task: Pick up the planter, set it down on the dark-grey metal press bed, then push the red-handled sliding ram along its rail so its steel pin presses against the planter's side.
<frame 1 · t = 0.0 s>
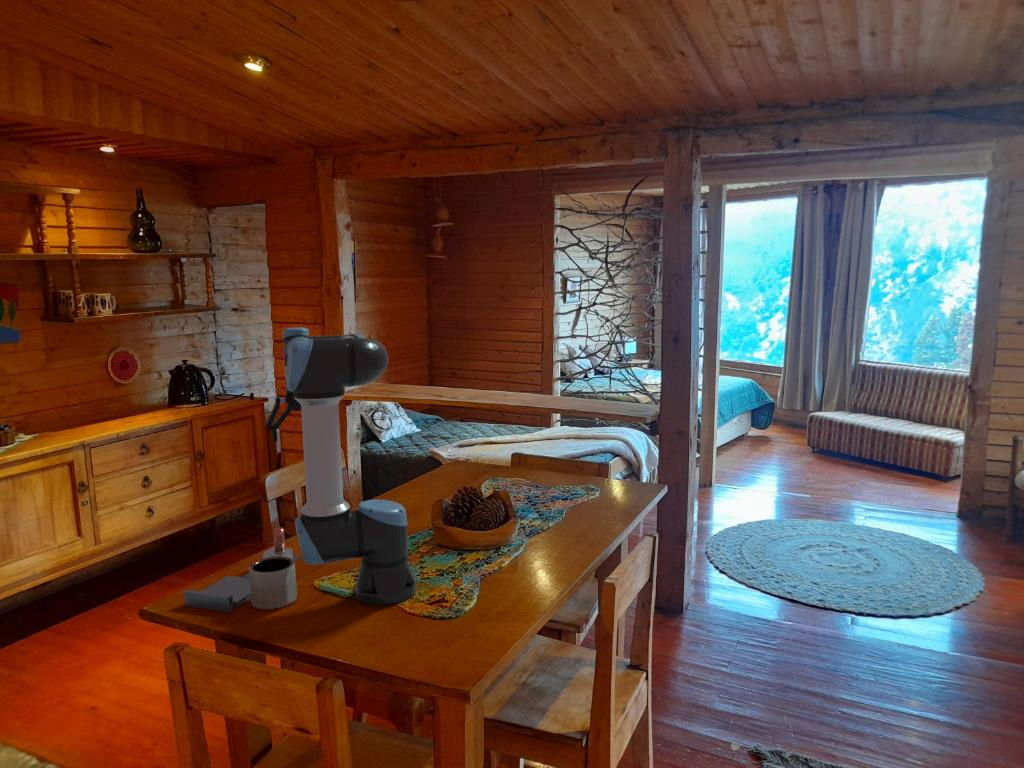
hand: (302, 449, 220), 28 cm above the table, fingers open, 13 cm apart
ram: (273, 548, 201), point 5 cm above the table, slide at 0.0 cm
planter: (274, 602, 180), on the table
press: (232, 592, 185), on the table
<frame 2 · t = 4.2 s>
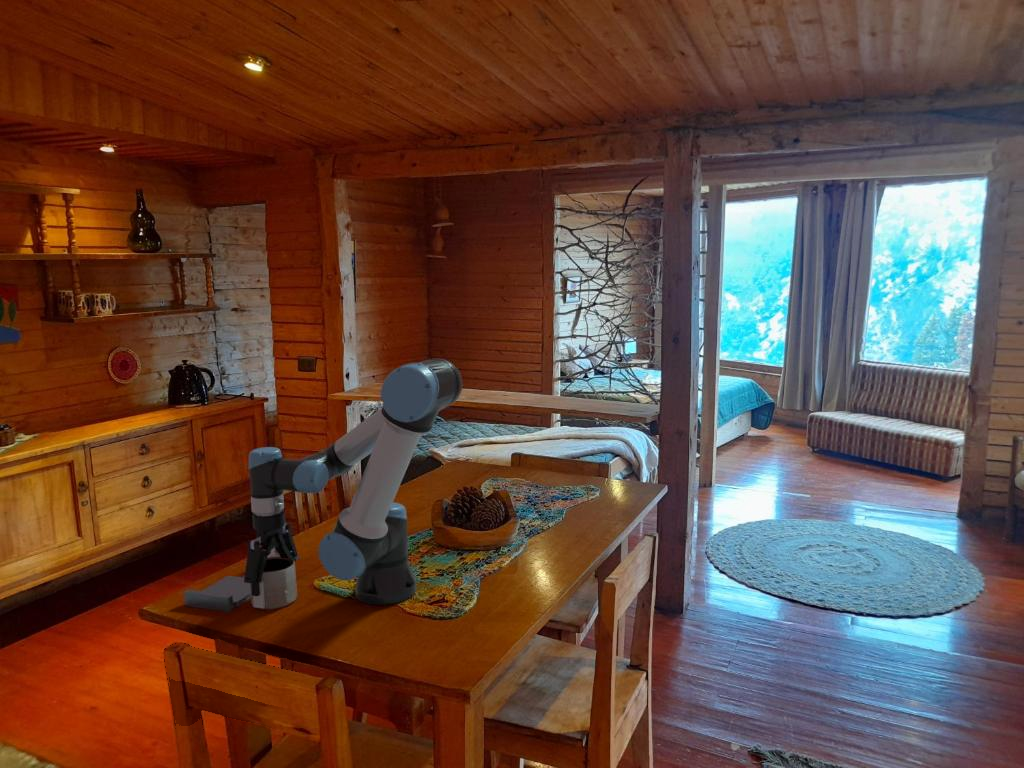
hand: (274, 597, 180), 1 cm above the table, fingers closed on planter, 11 cm apart
planter: (274, 601, 180), on the table, touching gripper
everything else where it was.
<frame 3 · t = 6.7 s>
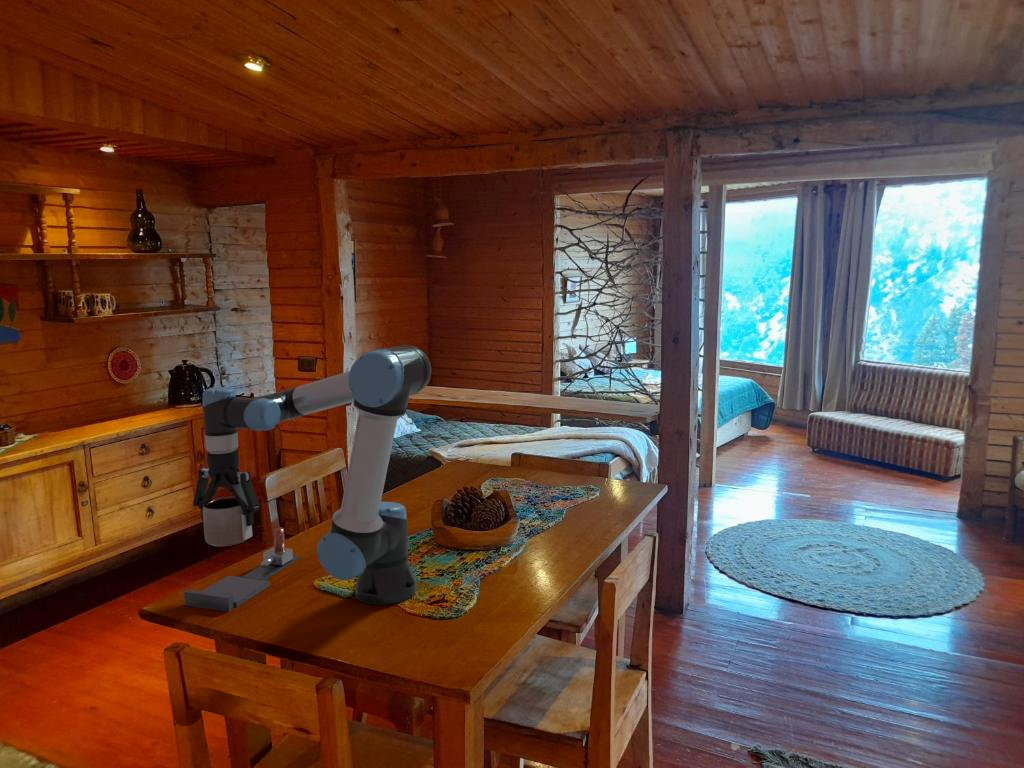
hand: (228, 535, 183), 15 cm above the table, fingers closed on planter, 11 cm apart
planter: (228, 540, 183), point 14 cm above the table, touching gripper
everything else where it was.
when the fingers open (4 cm above the table, at t = 9.4 s): planter drops 1 cm, resting on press.
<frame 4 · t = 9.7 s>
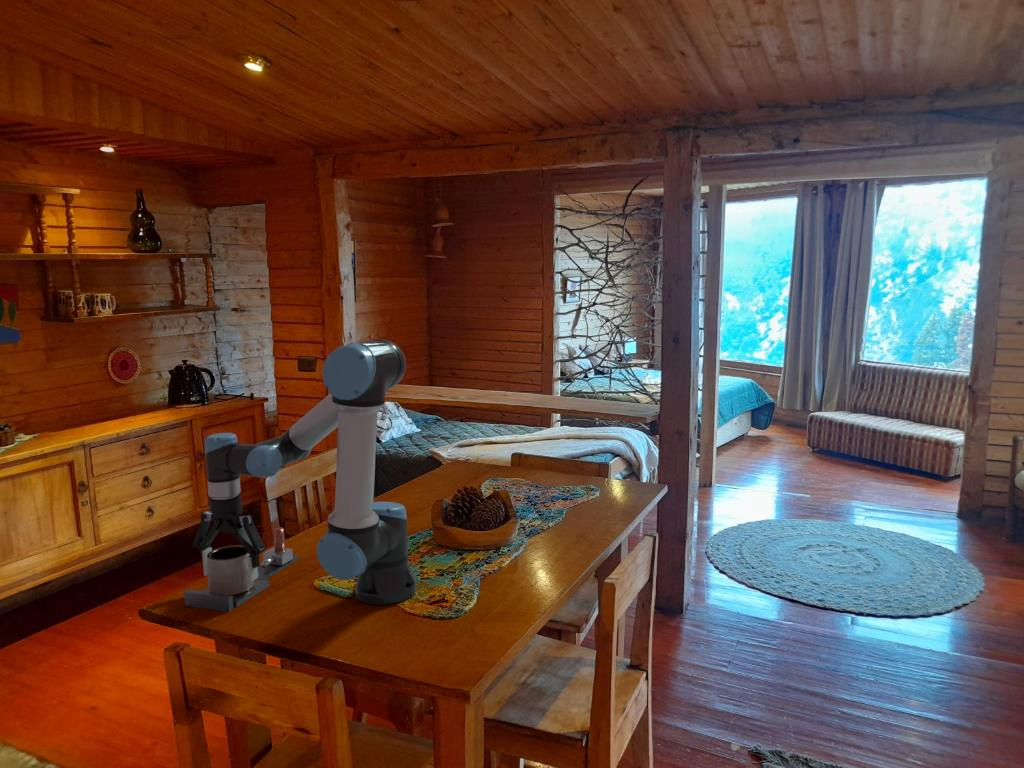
hand: (231, 576, 185), 4 cm above the table, fingers open, 13 cm apart
planter: (232, 589, 185), point 1 cm above the table, touching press
everything else where it was.
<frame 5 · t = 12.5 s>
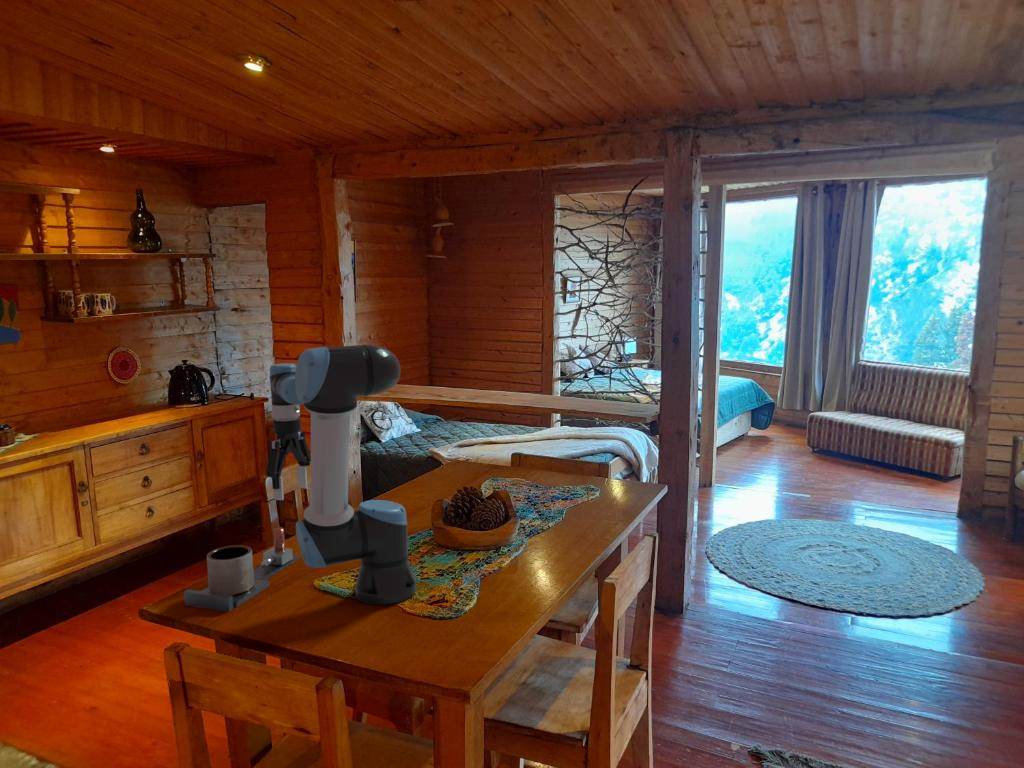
hand: (291, 493, 209), 18 cm above the table, fingers open, 11 cm apart
nothing on the table moved.
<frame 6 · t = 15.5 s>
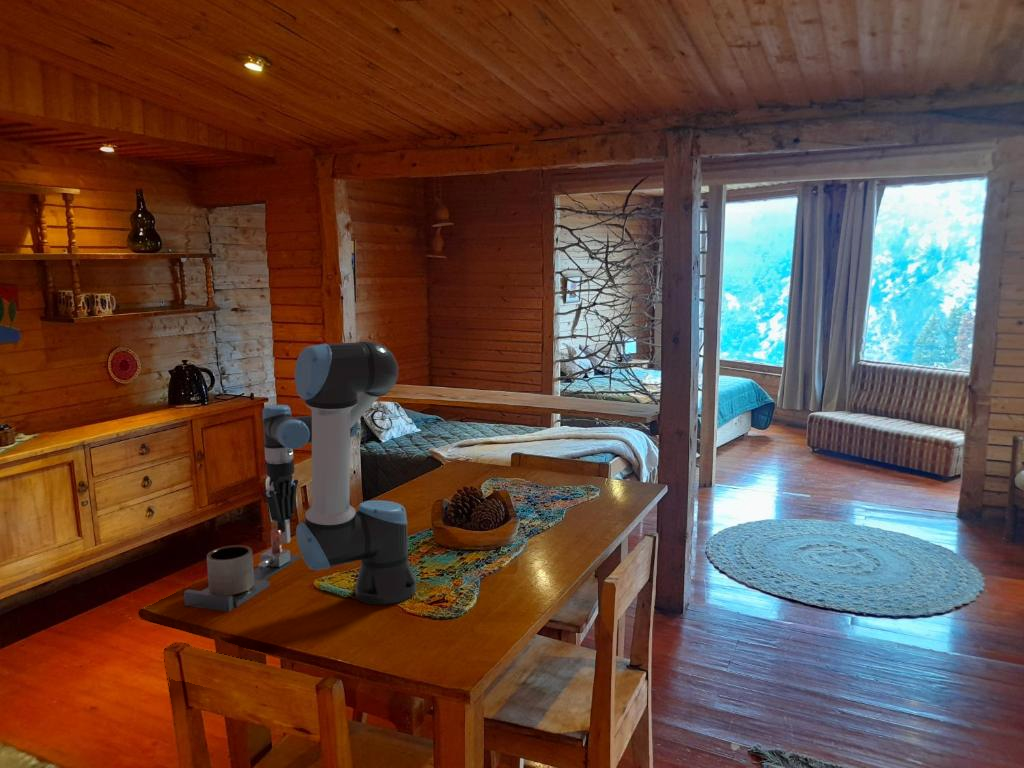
hand: (285, 541, 206), 5 cm above the table, fingers closed
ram: (270, 549, 200), point 5 cm above the table, slide at 1.2 cm, touching gripper
everything else where it was.
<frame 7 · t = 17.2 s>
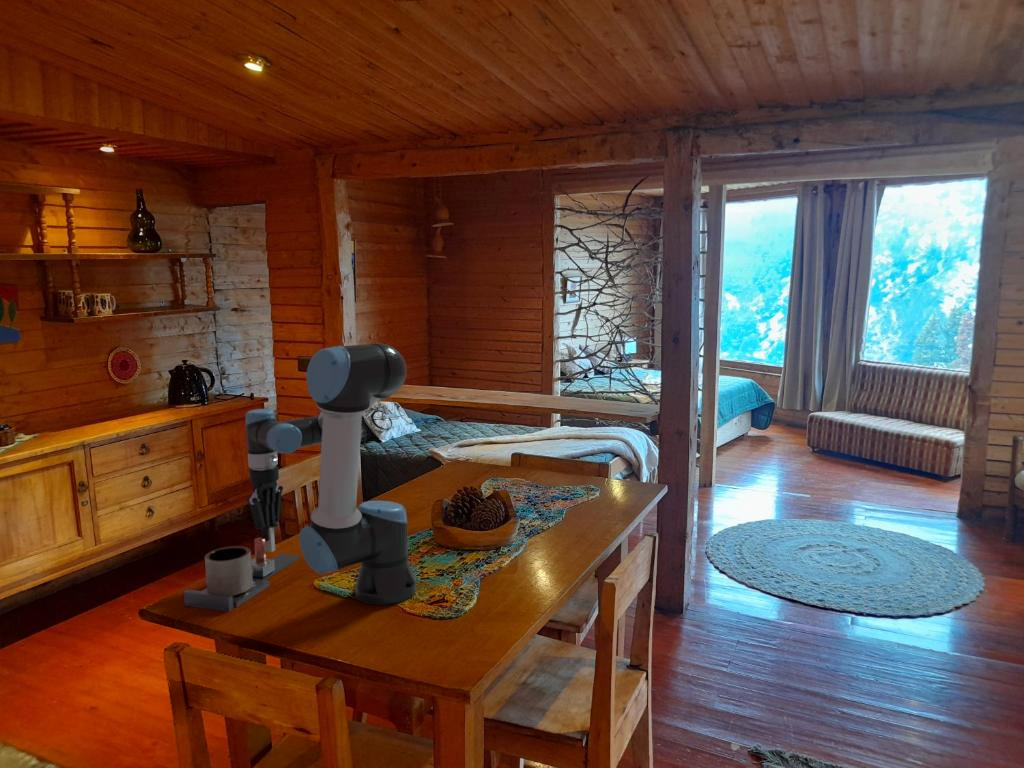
hand: (269, 550, 199), 5 cm above the table, fingers closed
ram: (253, 559, 193), point 5 cm above the table, slide at 8.3 cm, touching gripper, planter
planter: (230, 590, 185), point 1 cm above the table, touching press, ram
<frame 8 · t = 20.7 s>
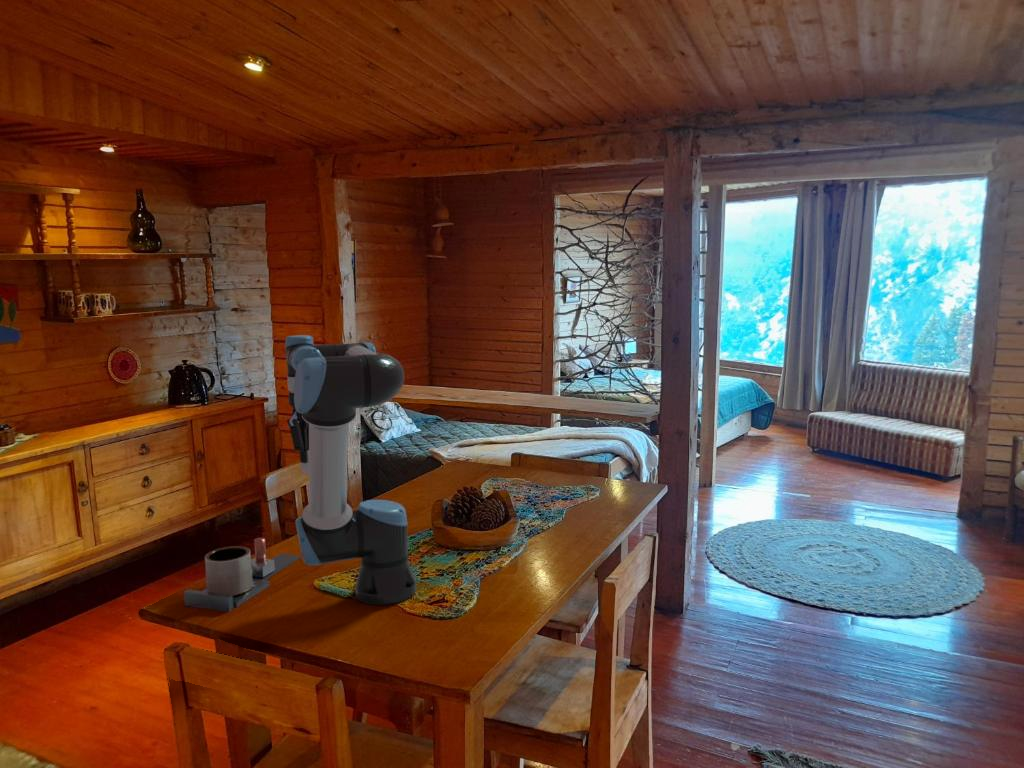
hand: (307, 472, 207), 24 cm above the table, fingers closed
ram: (253, 559, 193), point 5 cm above the table, slide at 8.4 cm
planter: (230, 590, 184), point 1 cm above the table, touching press
at the end: planter inside the target area on the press (0.8 cm from its centre), point 1.0 cm above the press's base; planter tilted 0°; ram slide at 8.4 cm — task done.
